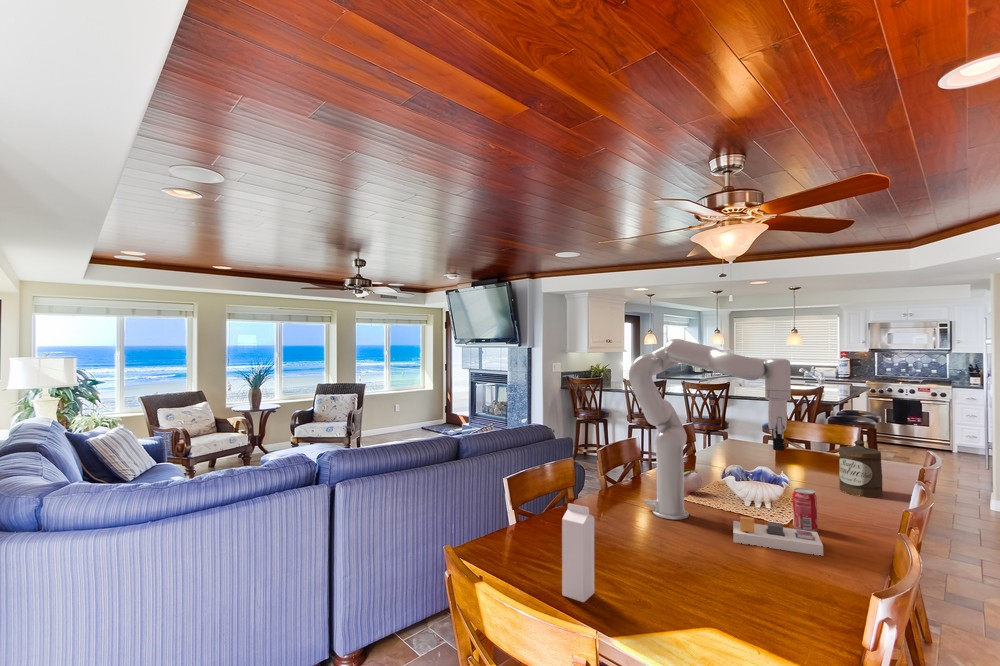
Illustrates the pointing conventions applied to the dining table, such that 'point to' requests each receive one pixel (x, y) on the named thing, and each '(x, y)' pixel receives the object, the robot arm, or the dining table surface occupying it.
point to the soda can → (805, 509)
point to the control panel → (778, 539)
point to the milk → (577, 553)
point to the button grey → (804, 535)
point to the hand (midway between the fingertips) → (778, 449)
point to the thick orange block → (746, 524)
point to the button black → (775, 528)
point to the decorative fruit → (692, 481)
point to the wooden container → (860, 470)
